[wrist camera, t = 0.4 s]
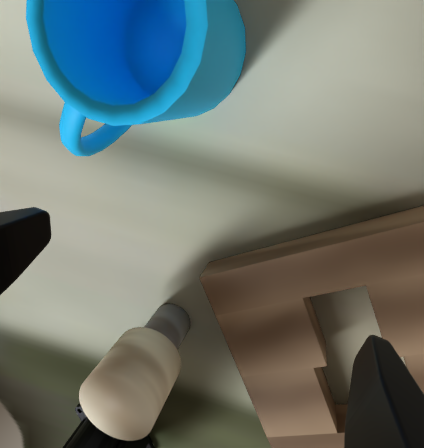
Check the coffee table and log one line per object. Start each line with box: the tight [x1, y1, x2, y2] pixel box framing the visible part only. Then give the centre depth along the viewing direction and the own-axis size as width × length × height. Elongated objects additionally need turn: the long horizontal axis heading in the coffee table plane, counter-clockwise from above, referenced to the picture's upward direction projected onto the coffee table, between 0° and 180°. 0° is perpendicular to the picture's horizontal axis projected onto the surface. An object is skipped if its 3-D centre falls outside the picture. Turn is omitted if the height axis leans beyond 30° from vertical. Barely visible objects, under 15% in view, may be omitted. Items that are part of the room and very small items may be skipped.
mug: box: [26, 0, 246, 156], centre depth 19 cm, size 12×8×8 cm
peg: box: [79, 304, 190, 441], centre depth 24 cm, size 5×5×9 cm
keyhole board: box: [199, 206, 424, 448], centre depth 24 cm, size 16×16×2 cm
